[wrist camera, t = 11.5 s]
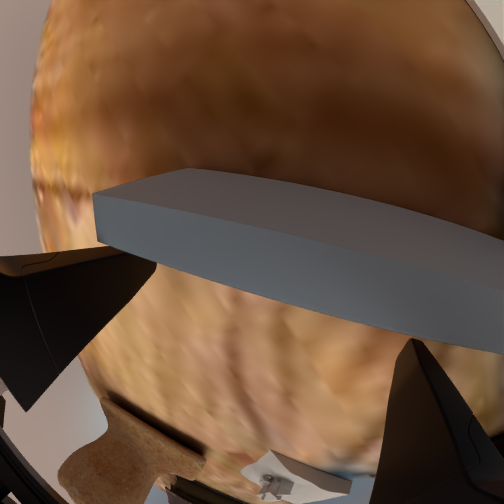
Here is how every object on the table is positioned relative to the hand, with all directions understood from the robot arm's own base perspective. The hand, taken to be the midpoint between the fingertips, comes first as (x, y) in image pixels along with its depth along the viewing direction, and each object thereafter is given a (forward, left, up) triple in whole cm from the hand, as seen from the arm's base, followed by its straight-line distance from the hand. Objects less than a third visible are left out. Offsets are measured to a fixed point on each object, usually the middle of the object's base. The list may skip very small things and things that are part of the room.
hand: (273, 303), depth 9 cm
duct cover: (0, -4, -3) cm, 5 cm away
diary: (-43, +34, -4) cm, 55 cm away
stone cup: (-16, +25, -3) cm, 30 cm away
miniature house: (-21, +10, -4) cm, 24 cm away
